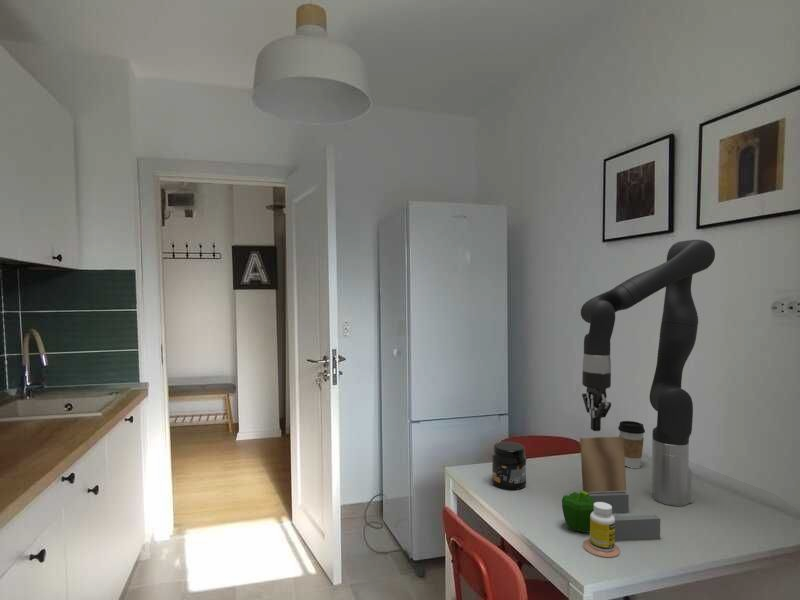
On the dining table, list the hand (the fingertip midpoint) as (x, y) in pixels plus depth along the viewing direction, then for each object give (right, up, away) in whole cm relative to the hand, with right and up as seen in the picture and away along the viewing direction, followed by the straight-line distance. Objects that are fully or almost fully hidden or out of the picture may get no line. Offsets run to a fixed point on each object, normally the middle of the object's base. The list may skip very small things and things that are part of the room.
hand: (595, 430), depth 139 cm
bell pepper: (-10, -21, -15) cm, 28 cm away
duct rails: (+1, -21, -13) cm, 24 cm away
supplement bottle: (-8, -21, -24) cm, 33 cm away
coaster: (-8, -21, -24) cm, 33 cm away
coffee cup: (+24, -20, +29) cm, 43 cm away
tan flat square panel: (0, -8, -5) cm, 9 cm away
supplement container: (-22, -21, +14) cm, 33 cm away
